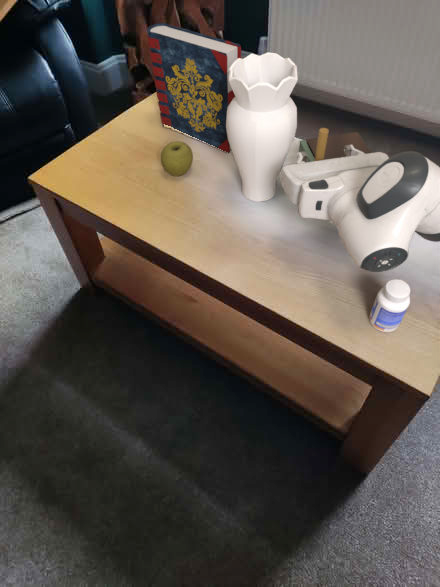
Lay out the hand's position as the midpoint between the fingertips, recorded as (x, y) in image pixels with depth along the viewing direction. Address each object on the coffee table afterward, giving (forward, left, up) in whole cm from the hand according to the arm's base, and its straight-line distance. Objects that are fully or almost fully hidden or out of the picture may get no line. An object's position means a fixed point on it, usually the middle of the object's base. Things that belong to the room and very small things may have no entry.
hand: (324, 151), depth 84 cm
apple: (+28, -23, -17) cm, 40 cm away
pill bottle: (-4, +30, -17) cm, 35 cm away
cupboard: (-7, -7, -17) cm, 19 cm away
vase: (+10, -11, -17) cm, 22 cm away
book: (+21, -38, -17) cm, 47 cm away
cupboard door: (0, -7, -16) cm, 18 cm away
